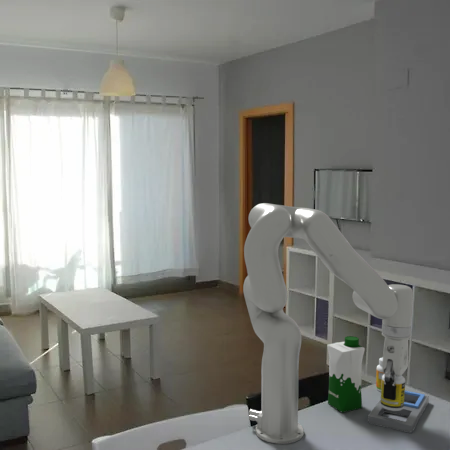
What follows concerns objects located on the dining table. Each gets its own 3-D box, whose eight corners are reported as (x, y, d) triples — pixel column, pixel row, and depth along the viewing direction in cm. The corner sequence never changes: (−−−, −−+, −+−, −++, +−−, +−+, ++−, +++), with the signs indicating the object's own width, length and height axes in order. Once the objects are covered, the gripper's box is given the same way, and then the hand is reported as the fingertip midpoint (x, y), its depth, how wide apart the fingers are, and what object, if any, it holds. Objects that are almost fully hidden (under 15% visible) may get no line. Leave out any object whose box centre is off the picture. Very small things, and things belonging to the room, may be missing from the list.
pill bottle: (405, 413, 149) (407, 373, 148) (381, 410, 150) (383, 370, 149) (402, 403, 155) (404, 365, 154) (379, 401, 157) (381, 363, 155)
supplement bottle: (379, 384, 178) (380, 355, 177) (396, 388, 175) (397, 358, 174) (373, 390, 174) (374, 360, 173) (390, 394, 171) (391, 363, 170)
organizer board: (367, 422, 152) (367, 413, 151) (388, 394, 170) (389, 386, 170) (411, 433, 146) (411, 423, 146) (428, 402, 165) (428, 394, 164)
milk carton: (366, 408, 161) (368, 341, 159) (340, 414, 157) (342, 345, 155) (347, 397, 169) (349, 333, 166) (322, 402, 165) (323, 337, 163)
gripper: (402, 340, 142) (398, 409, 143) (417, 325, 156) (413, 387, 158) (373, 335, 145) (369, 402, 147) (390, 321, 160) (387, 381, 162)
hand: (392, 394), depth 153 cm, fingers closed on pill bottle, 6 cm apart
